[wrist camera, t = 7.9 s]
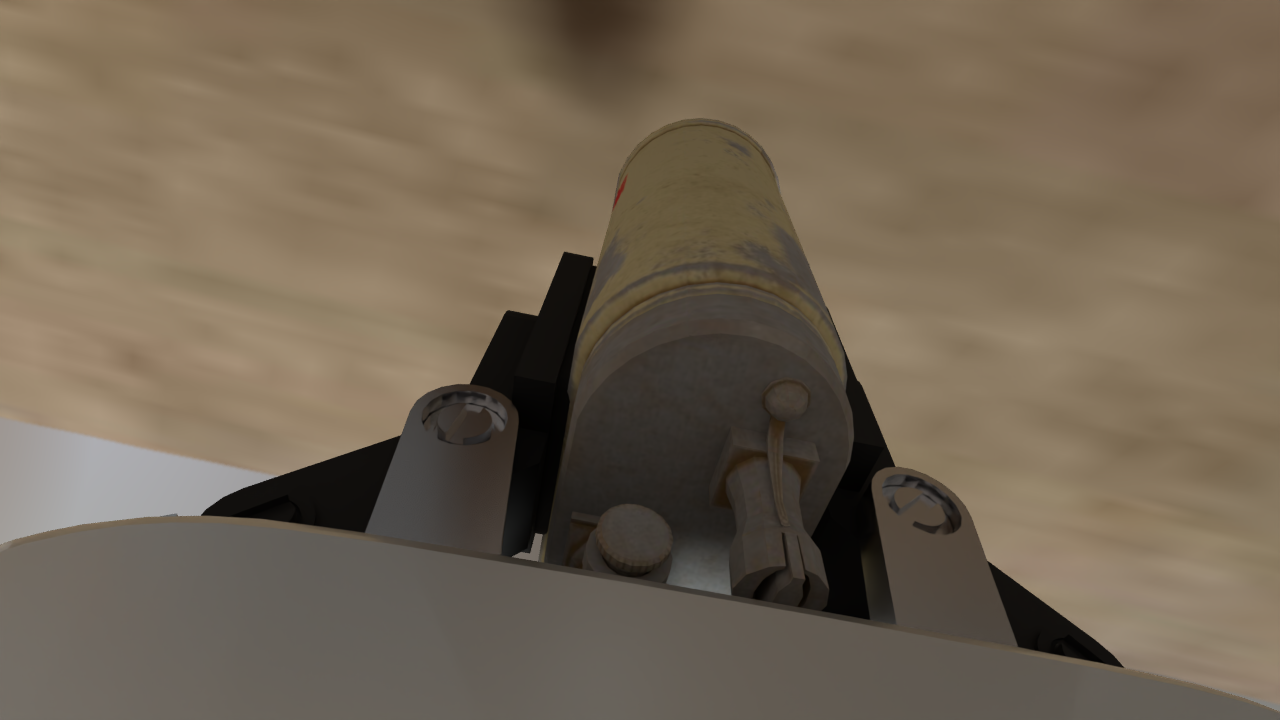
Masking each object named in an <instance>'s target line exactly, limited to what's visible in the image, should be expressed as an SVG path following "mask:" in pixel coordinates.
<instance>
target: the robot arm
mask: <svg viewBox="0 0 1280 720" xmlns="http://www.w3.org/2000/svg"><path fill="white" fill-rule="evenodd" d="M596 269H597V266H593V258H592V257H587V256H582V255H578V254H573V253H568V252H564V253H563V256H562V258H561V261H560V263H559V266H558V268H557V271H556V273H555V276H554V278H553V280H552V283H551V285H550V288H549V290H548V293H547V295H546V298H545V300H544V303H543V305H542V308H541V310H540V313H539V315H538V316H535V315H530V314H525V313H520V312H515V311H510V310H508V311H506V313H505V314H504V316H503V318H502V320H501V322H500V324H499V326H498V328H497V330H496V332H495V334H494V336H493V338H492V340H491V342H490V344H489V346H488V348H487V350H486V352H485V354H484V356H483V358H482V360H481V362H480V364H479V366H478V368H477V370H476V372H475V375H474V377H473V379H472V381H471V383H470V385H469V384H456V385H450V386H445V387H440V388H438V389H435V390H433V391H430V392H428V393H426V394H425V395H424V396H422V397H421V398H420V399H418V400H417V401H416V403H415V404H414V406H413V407H412V409H411V411H410V413H409V416H408V418H407V421H406V424H405V426H404V429H403V432H402V434H401V435H400V436H397V437H395V438H392V439H389V440H386V441H383V442H380V443H377V444H374V445H371V446H368V447H365V448H362V449H359V450H356V451H353V452H350V453H347V454H344V455H341V456H338V457H335V458H332V459H329V460H326V461H323V462H320V463H317V464H314V465H311V466H308V467H305V468H302V469H299V470H296V471H293V472H290V473H287V474H284V475H281V476H278V477H275V478H272V479H269V480H266V481H263V482H260V483H258V484H255V485H252V486H249V487H246V488H243V489H241V490H238V491H236V492H234V493H232V494H229V495H227V496H225V497H223V498H222V499H220V500H219V501H217V502H216V503H215V504H213V505H212V506H210V507H209V508H207V509H206V510H205V511H204V512H203V514H202V515H201V516H178V515H177V514H171V515H166V516H160V517H144V518H134V519H126V520H117V521H109V522H100V523H91V524H83V525H77V526H73V527H67V528H62V529H57V530H52V531H47V532H43V533H39V534H35V535H31V536H27V537H23V538H19V539H15V540H12V541H9V542H7V543H4V544H1V545H0V720H1280V712H1279V711H1277V710H1274V709H1271V708H1269V707H1266V706H1264V705H1261V704H1258V703H1256V702H1253V701H1250V700H1248V699H1245V698H1242V697H1238V696H1235V695H1232V694H1228V693H1225V692H1221V691H1218V690H1215V689H1211V688H1208V687H1204V686H1201V685H1197V684H1193V683H1189V682H1184V681H1180V680H1175V679H1171V678H1166V677H1162V676H1157V675H1153V674H1148V673H1144V672H1139V671H1135V670H1130V669H1126V668H1124V667H1123V666H1122V665H1121V663H1120V662H1119V661H1118V660H1117V659H1116V658H1115V657H1114V656H1113V655H1112V654H1111V653H1110V652H1109V651H1108V650H1106V649H1105V648H1104V647H1103V646H1102V645H1101V644H1099V643H1098V642H1097V641H1096V640H1094V639H1093V638H1092V637H1090V636H1089V635H1088V634H1086V633H1085V632H1084V631H1082V630H1081V629H1079V628H1078V627H1077V626H1075V625H1074V624H1073V623H1071V622H1070V621H1069V620H1067V619H1066V618H1064V617H1063V616H1062V615H1060V614H1059V613H1058V612H1056V611H1055V610H1054V609H1052V608H1051V607H1050V606H1048V605H1047V604H1045V603H1044V602H1043V601H1041V600H1040V599H1039V598H1037V597H1036V596H1035V595H1033V594H1032V593H1030V592H1029V591H1028V590H1026V589H1025V588H1024V587H1022V586H1021V585H1020V584H1018V583H1017V582H1016V581H1014V580H1013V579H1011V578H1010V577H1009V576H1007V575H1006V574H1005V573H1003V572H1002V571H1001V570H999V569H998V568H996V567H995V566H994V565H992V564H991V563H990V562H988V561H987V559H986V556H985V554H984V551H983V548H982V545H981V542H980V540H979V537H978V534H977V531H976V529H975V526H974V523H973V520H972V517H971V516H970V514H969V512H968V510H967V508H966V506H965V505H964V504H963V502H962V501H961V500H960V499H959V498H958V497H957V496H956V495H955V493H953V492H952V491H951V490H950V489H948V488H947V487H946V486H944V485H943V484H942V483H940V482H939V481H937V480H935V479H933V478H932V477H930V476H928V475H926V474H923V473H921V472H918V471H915V470H913V469H908V468H902V467H895V465H894V462H893V460H892V457H891V455H890V452H889V450H888V448H887V445H886V443H885V440H884V438H883V435H882V433H881V431H880V428H879V426H878V423H877V421H876V419H875V416H874V414H873V411H872V409H871V406H870V404H869V402H868V399H867V397H866V394H865V392H864V390H863V387H862V385H861V384H860V382H859V381H857V379H856V377H855V374H854V372H853V369H852V367H851V364H850V362H849V359H848V357H847V355H846V352H845V350H844V347H843V345H842V342H841V340H840V337H839V335H838V332H837V330H836V328H835V325H834V323H833V320H832V318H831V315H830V313H829V310H828V308H827V307H826V308H827V311H828V313H829V316H830V318H831V320H832V323H833V325H834V328H835V330H836V333H837V335H838V338H839V341H840V343H841V346H842V348H843V351H844V354H845V363H846V371H847V383H846V391H845V392H846V395H847V398H848V401H849V404H850V407H851V410H852V414H853V428H854V441H853V447H852V452H851V458H850V462H849V464H848V466H847V468H846V471H845V472H844V474H843V476H842V478H841V480H840V482H839V484H838V486H837V488H836V490H835V492H834V494H833V496H832V498H831V500H830V501H829V503H828V505H827V507H826V509H825V511H824V513H823V515H822V517H821V519H820V521H819V523H818V525H817V527H816V529H815V530H814V532H813V534H812V536H811V539H812V540H813V542H814V543H815V544H816V546H817V547H818V549H819V550H820V552H821V556H822V560H823V565H824V569H825V574H826V578H827V582H828V587H829V595H828V600H827V606H826V607H825V608H824V609H822V610H821V611H817V610H811V609H805V608H800V607H794V606H789V605H783V604H777V603H772V602H766V601H761V600H755V599H749V598H744V597H738V596H732V595H727V594H721V593H715V592H710V591H704V590H698V589H693V588H687V587H681V586H676V585H670V584H664V583H659V582H653V581H647V580H642V579H636V578H630V577H624V576H619V575H613V574H607V573H601V572H595V571H589V570H584V569H578V568H572V567H566V566H560V565H554V564H549V563H543V562H537V561H531V560H525V559H519V558H514V557H512V556H513V555H516V554H518V553H520V552H525V553H530V551H531V548H532V544H533V540H534V536H535V533H538V534H543V535H544V534H547V532H548V528H549V522H550V516H551V510H552V504H553V498H554V492H555V486H556V481H557V475H558V469H559V463H560V457H561V451H562V445H563V439H564V433H565V428H566V422H567V416H568V410H569V404H570V399H569V395H568V392H567V390H568V385H569V379H570V373H571V367H572V361H573V355H574V350H575V344H576V341H577V337H578V333H579V330H580V326H581V323H582V319H583V315H584V312H585V308H586V305H587V301H588V297H589V294H590V290H591V287H592V283H593V279H594V276H595V272H596Z"/></svg>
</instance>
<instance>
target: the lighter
mask: <svg viewBox="0 0 1280 720" xmlns="http://www.w3.org/2000/svg"><path fill="white" fill-rule="evenodd" d="M846 383H847V371H846V363H845V354H844V351H843V348H842V346H841V343H840V341H839V338H838V335H837V333H836V330H835V328H834V325H833V323H832V320H831V318H830V316H829V313H828V311H827V308H826V306H825V303H824V301H823V298H822V296H821V293H820V291H819V288H818V286H817V283H816V281H815V279H814V276H813V274H812V271H811V269H810V266H809V264H808V261H807V259H806V256H805V254H804V251H803V249H802V246H801V244H800V242H799V239H798V237H797V234H796V232H795V229H794V227H793V224H792V222H791V219H790V217H789V214H788V212H787V209H786V207H785V205H784V202H783V200H782V197H781V193H780V187H779V181H778V177H777V175H776V172H775V169H774V167H773V164H772V162H771V160H770V158H769V157H768V155H767V154H766V152H765V151H764V149H763V148H762V146H760V145H759V144H758V143H757V142H756V141H755V140H754V139H753V138H752V137H751V136H750V135H749V134H747V133H746V132H744V131H742V130H741V129H739V128H737V127H736V126H734V125H731V124H728V123H725V122H722V121H719V120H712V119H703V118H698V119H687V120H681V121H678V122H675V123H672V124H668V125H666V126H664V127H662V128H660V129H659V130H657V131H655V132H653V133H651V134H650V135H649V136H648V137H647V138H645V139H644V140H643V141H642V142H641V143H639V144H638V145H637V147H636V148H635V149H634V150H633V152H632V153H631V154H630V155H629V157H628V158H627V160H626V162H625V164H624V165H623V167H622V169H621V171H620V173H619V177H618V183H617V188H616V194H615V199H614V204H613V210H612V214H611V218H610V222H609V225H608V229H607V232H606V236H605V240H604V243H603V247H602V251H601V254H600V258H599V261H598V265H597V269H596V272H595V276H594V279H593V283H592V287H591V290H590V294H589V297H588V301H587V305H586V308H585V312H584V315H583V319H582V323H581V326H580V330H579V333H578V337H577V341H576V344H575V350H574V355H573V361H572V367H571V373H570V379H569V385H568V390H567V392H568V395H569V399H570V404H569V410H568V416H567V422H566V428H565V433H564V439H563V445H562V451H561V457H560V463H559V469H558V475H557V481H556V486H555V492H554V498H553V504H552V510H551V516H550V522H549V528H548V532H547V534H544V535H543V537H542V542H541V548H540V554H539V560H538V562H543V563H549V564H554V565H560V566H566V567H572V568H578V569H584V570H589V571H595V572H601V573H607V574H613V575H619V576H624V577H630V578H636V579H642V580H647V581H653V582H659V583H664V584H670V585H676V586H681V587H687V588H693V589H698V590H704V591H710V592H715V593H721V594H727V595H732V596H738V597H744V598H749V599H755V600H761V601H766V602H772V603H777V604H783V605H789V606H794V607H800V608H805V609H811V610H817V611H821V610H822V609H824V608H825V607H826V606H827V600H828V595H829V587H828V582H827V578H826V574H825V569H824V565H823V560H822V556H821V552H820V550H819V549H818V547H817V546H816V544H815V543H814V542H813V540H812V539H811V536H812V534H813V532H814V530H815V529H816V527H817V525H818V523H819V521H820V519H821V517H822V515H823V513H824V511H825V509H826V507H827V505H828V503H829V501H830V500H831V498H832V496H833V494H834V492H835V490H836V488H837V486H838V484H839V482H840V480H841V478H842V476H843V474H844V472H845V471H846V468H847V466H848V464H849V462H850V458H851V452H852V447H853V441H854V428H853V414H852V410H851V407H850V404H849V401H848V398H847V395H846V392H845V391H846Z"/></svg>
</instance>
